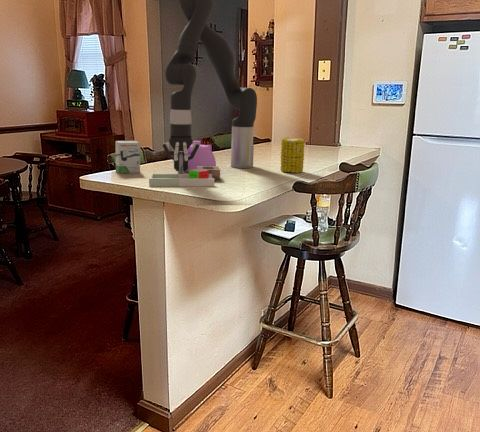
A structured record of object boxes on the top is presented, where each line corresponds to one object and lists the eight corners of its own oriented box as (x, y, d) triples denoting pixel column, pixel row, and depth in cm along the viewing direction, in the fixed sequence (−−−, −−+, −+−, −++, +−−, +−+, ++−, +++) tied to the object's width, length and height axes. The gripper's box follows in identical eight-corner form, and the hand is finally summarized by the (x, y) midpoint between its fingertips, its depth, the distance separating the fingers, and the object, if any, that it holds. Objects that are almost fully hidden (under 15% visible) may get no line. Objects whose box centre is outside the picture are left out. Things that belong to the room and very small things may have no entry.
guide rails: (211, 180, 172) (211, 173, 171) (214, 186, 162) (214, 178, 161) (178, 180, 170) (178, 173, 169) (179, 186, 160) (179, 178, 160)
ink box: (118, 173, 180) (117, 142, 177) (115, 171, 184) (114, 140, 181) (141, 172, 184) (140, 141, 181) (137, 170, 188) (136, 140, 185)
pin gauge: (184, 178, 174) (184, 151, 172) (184, 179, 172) (184, 152, 169) (177, 178, 174) (177, 151, 171) (177, 179, 171) (177, 152, 169)
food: (303, 174, 200) (297, 179, 191) (277, 166, 203) (270, 170, 194) (313, 140, 194) (308, 143, 185) (287, 131, 197) (280, 134, 188)
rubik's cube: (198, 185, 162) (198, 171, 161) (188, 183, 165) (188, 169, 164) (208, 184, 166) (209, 170, 164) (199, 182, 169) (199, 168, 168)
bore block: (217, 176, 180) (217, 166, 179) (219, 180, 172) (220, 169, 171) (196, 176, 178) (196, 166, 177) (197, 180, 171) (198, 169, 170)
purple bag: (200, 176, 180) (200, 144, 177) (165, 172, 186) (165, 141, 183) (225, 168, 199) (226, 140, 196) (194, 165, 206) (194, 137, 203)
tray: (178, 180, 170) (178, 173, 169) (179, 186, 160) (179, 178, 160) (150, 180, 168) (150, 173, 168) (149, 186, 159) (149, 178, 158)
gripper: (199, 122, 172) (199, 169, 177) (161, 121, 170) (161, 169, 175) (201, 123, 165) (200, 172, 169) (160, 122, 163) (161, 172, 167)
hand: (180, 170), depth 172 cm, fingers closed on pin gauge, 2 cm apart
